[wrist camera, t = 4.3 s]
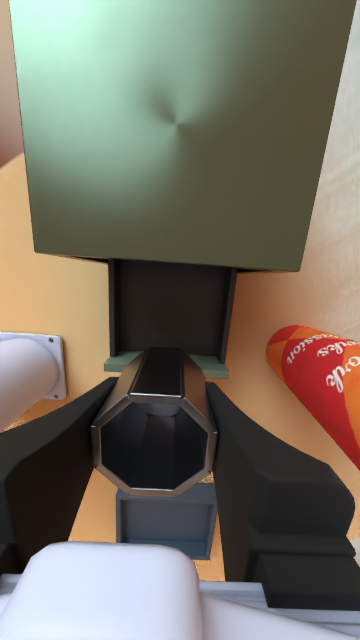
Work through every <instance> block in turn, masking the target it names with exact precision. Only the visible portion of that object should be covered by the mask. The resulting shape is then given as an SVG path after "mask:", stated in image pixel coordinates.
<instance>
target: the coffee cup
mask: <svg viewBox="0 0 360 640" xmlns="http://www.w3.org/2000/svg"><path fill="white" fill-rule="evenodd" d="M266 354H267V359H268V362H269V363H270V365H271V366H272V368H273V369H274V370H275V372H276V373H277V374H278V375H279V377H280V378H281V379H282V380H283V381H284V383H285V384H286V385H287V386H288V387H289V388H290V390H291V391H292V392H293V393H294V394H295V396H296V397H297V398H298V399H299V400H300V401H301V403H302V404H303V405H304V406H305V407H306V408H307V410H308V411H309V412H310V413H311V414H312V415H313V417H314V418H315V419H316V420H317V421H318V422H319V424H320V425H321V426H322V427H323V428H324V429H325V431H326V432H327V433H328V434H329V435H330V436H331V438H332V439H333V440H334V441H335V442H336V443H337V445H338V446H339V447H340V448H341V449H342V450H343V452H344V453H345V454H346V455H347V456H348V457H349V459H350V460H351V461H352V462H353V463H354V464H355V466H356V467H357V468H358V469H359V470H360V343H359V342H356V341H352V340H349V339H346V338H343V337H339V336H336V335H333V334H329V333H326V332H322V331H319V330H315V329H312V328H308V327H304V326H297V325H294V326H288V327H285V328H283V329H281V330H279V331H278V332H277V333H275V334H274V335H273V337H272V338H271V339H270V341H269V343H268V346H267V351H266Z"/></svg>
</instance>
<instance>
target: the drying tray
mask: <svg viewBox="0 0 360 640" xmlns="http://www.w3.org/2000/svg"><path fill="white" fill-rule="evenodd" d="M217 509H218V508H217V499H216V491H215V484H205V483H196V484H195V485H193V486H192V487H190V488H189V489H187V490H186V491H184V492H183V493H181V494H180V495H178V496H176V495H175V494H174V497H161V496H139V495H130V492H129V493H127V494H126V493H125V492H124V491H122V490H121V489H120V488H119V487H118V491H117V494H116V543H130V544H156V545H164V546H168V547H172V548H177V549H179V550H180V551H182V552H183V553H184V554H186V555H187V556H188V557H189V558H191V559H192V560H205V559H206V560H210V554H211V548H212V541H213V535H214V528H215V522H216V516H217Z"/></svg>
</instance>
